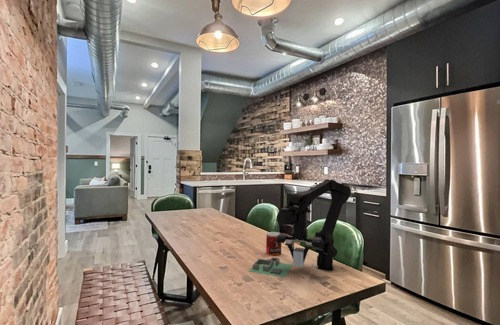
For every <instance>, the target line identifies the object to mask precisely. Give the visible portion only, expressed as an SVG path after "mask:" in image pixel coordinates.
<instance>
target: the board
mask: <svg viewBox="0 0 500 325" xmlns="http://www.w3.org/2000/svg"><path fill="white" fill-rule="evenodd" d="M269 260H270V261H271V260H272V261H273V266H272V268H271V269H270V271H269V272H267V271H263V266H265V264H259V270H254V269H253V266H252V267H251V268H250V269H249V270H248V272H249V273H255V274H259V275H261V274H262V275H267V276H273V277H280V278H287V276H288V274H289V273H290V271H291V268H292V267H293V264H292V263H291V264H289V263H283V262H280V260H281V259H280V258H279V257H275V256H271V257H270V259H269ZM261 265H263V266H261ZM260 266H261V268H260ZM267 266H268V265H267Z"/></svg>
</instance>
